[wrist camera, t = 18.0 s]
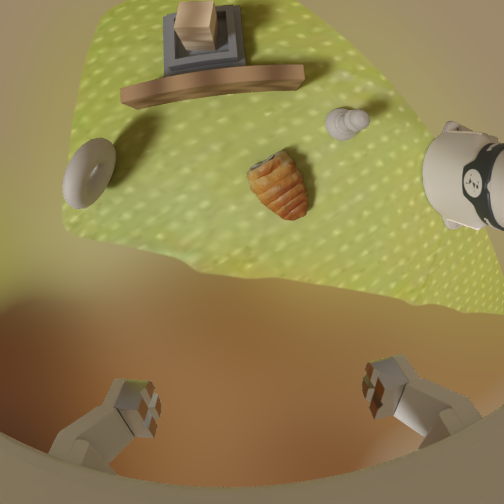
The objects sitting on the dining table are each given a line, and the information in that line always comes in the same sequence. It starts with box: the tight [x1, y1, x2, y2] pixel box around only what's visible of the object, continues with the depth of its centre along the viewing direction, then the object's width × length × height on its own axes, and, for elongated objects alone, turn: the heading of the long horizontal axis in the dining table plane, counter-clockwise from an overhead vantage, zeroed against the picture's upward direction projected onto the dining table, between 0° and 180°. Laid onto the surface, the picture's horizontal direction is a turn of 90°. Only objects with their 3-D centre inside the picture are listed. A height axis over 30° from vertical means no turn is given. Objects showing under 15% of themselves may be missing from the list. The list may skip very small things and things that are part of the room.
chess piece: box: [326, 108, 370, 141], centre depth 31 cm, size 5×5×8 cm
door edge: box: [120, 64, 305, 109], centre depth 30 cm, size 22×2×6 cm, turn 95°
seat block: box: [163, 5, 246, 77], centre depth 29 cm, size 11×11×3 cm
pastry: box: [247, 151, 309, 220], centre depth 36 cm, size 9×7×4 cm
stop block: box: [174, 1, 219, 51], centre depth 26 cm, size 4×4×8 cm
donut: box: [63, 138, 116, 209], centre depth 31 cm, size 10×4×10 cm, turn 151°
